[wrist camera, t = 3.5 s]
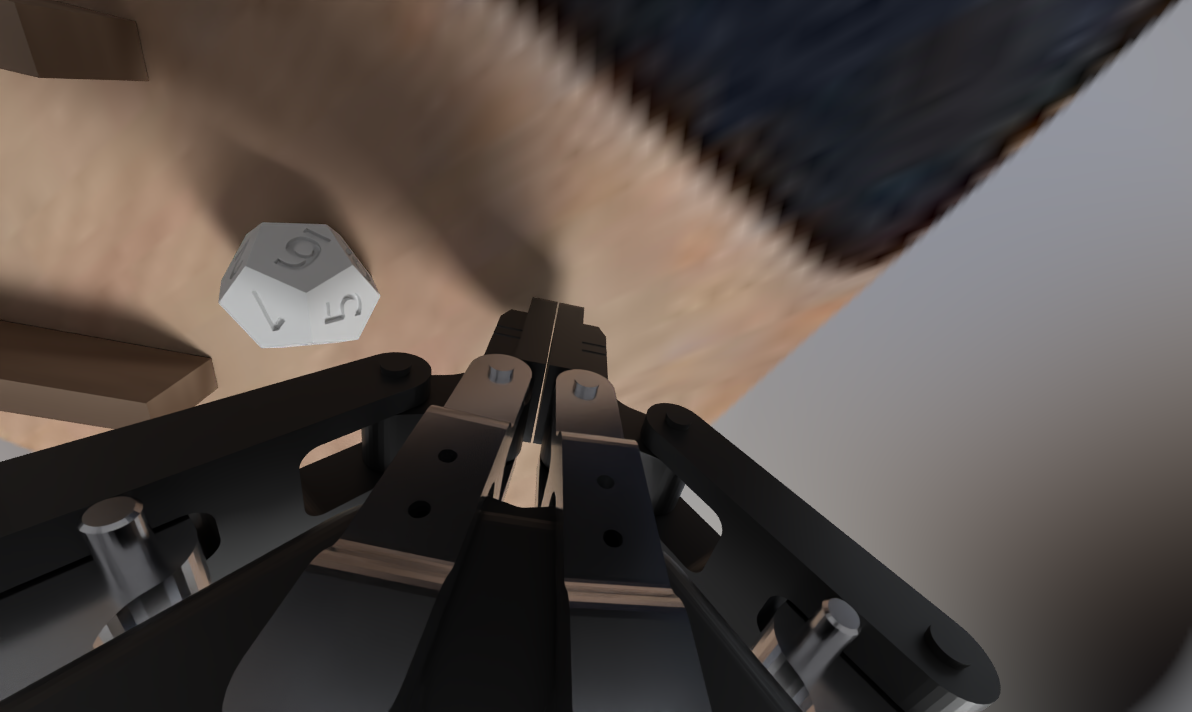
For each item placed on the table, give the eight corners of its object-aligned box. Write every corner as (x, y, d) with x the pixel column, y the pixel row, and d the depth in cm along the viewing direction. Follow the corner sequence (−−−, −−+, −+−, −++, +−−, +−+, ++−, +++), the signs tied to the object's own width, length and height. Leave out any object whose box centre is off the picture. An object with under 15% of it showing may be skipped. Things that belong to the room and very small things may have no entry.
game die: (366, 198, 12) (305, 225, 10) (409, 319, 14) (368, 369, 12) (244, 213, 13) (153, 244, 10) (303, 331, 14) (239, 383, 12)
